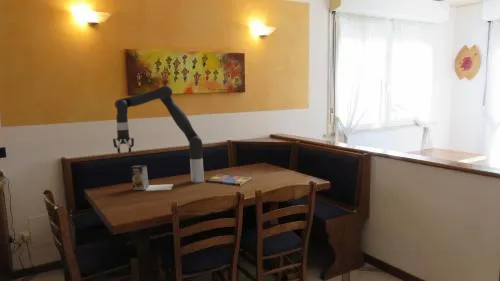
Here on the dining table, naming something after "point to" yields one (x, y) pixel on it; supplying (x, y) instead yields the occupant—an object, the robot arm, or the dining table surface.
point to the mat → (159, 187)
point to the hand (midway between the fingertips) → (124, 153)
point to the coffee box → (139, 177)
